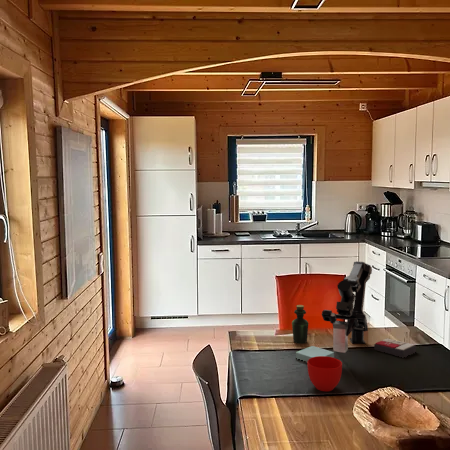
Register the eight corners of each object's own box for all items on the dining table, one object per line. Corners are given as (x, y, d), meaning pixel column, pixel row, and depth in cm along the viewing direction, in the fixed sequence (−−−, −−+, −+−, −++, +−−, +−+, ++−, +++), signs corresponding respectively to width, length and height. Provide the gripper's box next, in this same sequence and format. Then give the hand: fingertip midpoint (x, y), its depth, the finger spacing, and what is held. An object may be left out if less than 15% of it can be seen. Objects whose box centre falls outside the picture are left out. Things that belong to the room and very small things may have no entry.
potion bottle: (311, 340, 234) (311, 305, 232) (304, 345, 227) (304, 308, 225) (295, 338, 238) (295, 303, 237) (289, 342, 231) (289, 306, 230)
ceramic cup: (344, 379, 187) (344, 354, 187) (340, 397, 172) (340, 370, 171) (311, 375, 192) (311, 351, 191) (304, 392, 176) (304, 366, 175)
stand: (312, 352, 218) (312, 345, 218) (334, 358, 209) (334, 352, 209) (295, 358, 210) (295, 352, 210) (317, 366, 201) (317, 359, 201)
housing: (336, 347, 205) (336, 320, 204) (347, 349, 203) (347, 321, 202) (333, 351, 201) (333, 323, 200) (345, 352, 199) (345, 324, 198)
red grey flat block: (386, 337, 227) (416, 343, 215) (386, 346, 227) (416, 352, 216) (373, 342, 220) (403, 349, 208) (373, 351, 220) (403, 358, 209)
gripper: (322, 291, 209) (315, 322, 200) (365, 295, 200) (360, 328, 192) (327, 305, 217) (320, 335, 208) (369, 309, 208) (363, 341, 199)
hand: (340, 334), depth 202 cm, fingers closed on housing, 5 cm apart
